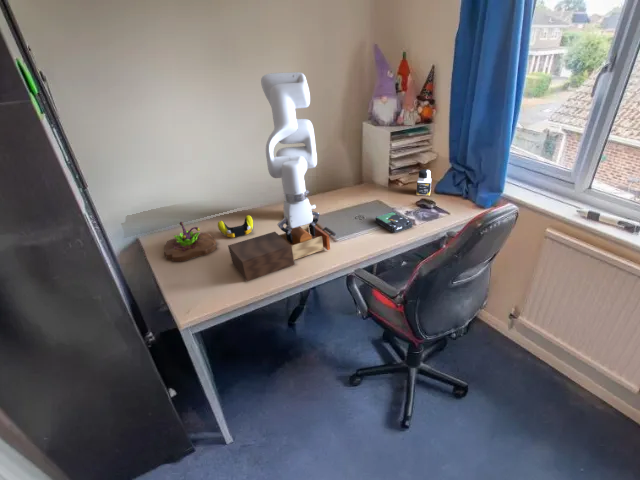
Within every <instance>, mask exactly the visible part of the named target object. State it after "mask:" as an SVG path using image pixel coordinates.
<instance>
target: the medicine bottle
mask: <svg viewBox="0 0 640 480" xmlns="http://www.w3.org/2000/svg"><path fill="white" fill-rule="evenodd" d="M431 173H432V172H431V170H430V169H425V168H424V169H420V170H419V171H418V177H417V180H416V193H415V194H416V195H417V196H431V190H432V188H431V187H432V178H431Z"/></svg>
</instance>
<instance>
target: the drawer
mask: <svg viewBox="0 0 640 480" xmlns="http://www.w3.org/2000/svg"><path fill="white" fill-rule="evenodd" d="M302 228H303V229H304V230H305V231H307V232H308V233H309V234H310V231H309V225H307V226H303V227H302ZM290 233H291V232H290ZM328 233H329V234H328ZM279 235H280V236H281V237H282V238H283V239H284V240H286V241H287V238H286V233H285V232H283V233H280V234H279ZM310 235H311V234H310ZM311 236H312V235H311ZM331 236H332V237H335V236H336V232H334V231H333V230H332V229H330V228H329V227H327V226H325V227H324V228H320V227H318V226H317V225H316V226H315V236H312V239H310V240H307V241H304V242H301V243H298V244H295V245H293V244H292V243H290V242H289V241H287V242H288V243H289V244H290V245H291V246H292V252H293V258H294V261H296V260H297V259H301V258H303V257H306V256H310V255H313V254H316V253H318V252H322V251H324V249H325V250H327V251H330V250H331V243H330V242H331V241H330V237H331Z"/></svg>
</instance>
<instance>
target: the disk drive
mask: <svg viewBox="0 0 640 480" xmlns="http://www.w3.org/2000/svg"><path fill="white" fill-rule="evenodd" d="M375 216H376V217H375V218H374V219H375V222H376V223H377V224H378V225H380V226H382V227H383V228H385V229H387V230H388V231H389V232H391V233H395V234H396V233H399V232H402V231H405V230H409V229H411V228H413V224H414V223H413V221H412V220H409V219H407V218H406V217H404V216H402V215H400V214H399V213H397V212H395V211H390V212H387V213H384V214H381V215H375Z"/></svg>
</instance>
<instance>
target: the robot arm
mask: <svg viewBox="0 0 640 480" xmlns="http://www.w3.org/2000/svg"><path fill="white" fill-rule="evenodd" d="M260 84H261V89H262V92H263V94H264V96H265V98H266V100H267V101H268V103H269V105H270V108H271V112H272V121H273V130H272V131H271V134H270V135H269V137H268V139H267V141H266V144H265V157H266V158H265V159H266V165H267V171H268V174H269V175H270V176H271V178H274V179H281V184H282V185H281V186H282V190H283V197H284V200H283V219H281V220H280V221H279V222H278V223H277V227H278V229H280V230H281V231H282V232H283V233H286V238H287V241H289V242H290V243H293V239H292V234H291V233H290V232H291V231H292V229H293V228H296V227H304V226H306V225H308V227H309V234H310V235H312V236H315V226H317V223H318V222H319V218H320V214H321V213H319V212H317V211H314V210H315V209H317V205H316V204H311V203H310V200H309V197H308V195H309V194H310V190H308V189H306V182H305V175H306V173H307V171H308V170H309V169H314V168H316V166H317V165H318V154H317V145H316V138H315V130H314V125H313V122H312V121H311V120H309V119H308V118H297V113H296V109H306V108H308V107H310V104H311V93H310V87H309V84H308V81H307V78H306V75H305V74H304V73H303V72H301V71H300V72H299V71H297V72H295V71H293V72H273V73H272V72H271V73H266V74H264V75H262V77H261V78H260ZM277 144H282V145H294V144H296V145H297V144H303V145H301V146H288V147H287V146H286V147H282V148H280V149H278V150H277V152H276V154H275V156H274V150H275V147H276V146H277ZM284 225H286V226H285V227H284Z"/></svg>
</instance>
